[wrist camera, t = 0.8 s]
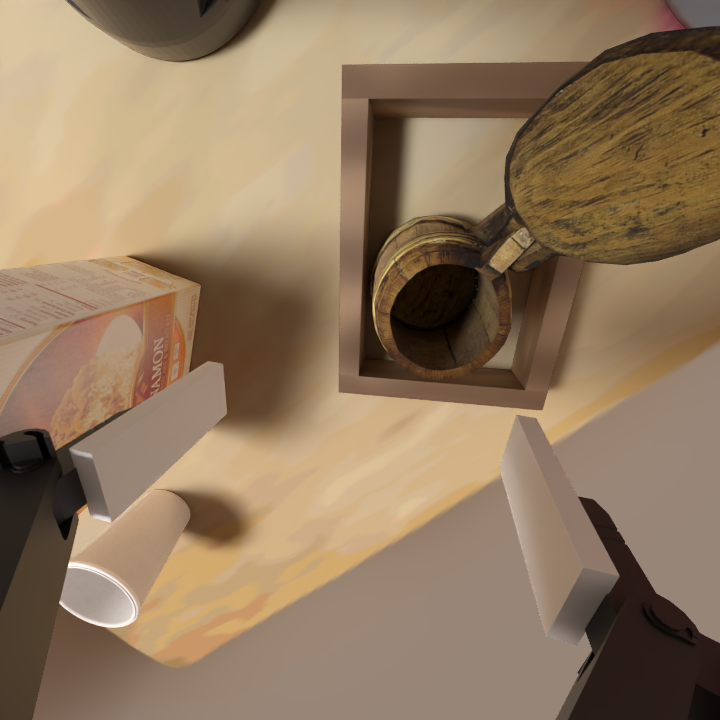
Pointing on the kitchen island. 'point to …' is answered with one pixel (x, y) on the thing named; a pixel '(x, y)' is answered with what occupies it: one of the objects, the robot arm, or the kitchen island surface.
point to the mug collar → (359, 107)
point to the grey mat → (696, 12)
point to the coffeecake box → (89, 342)
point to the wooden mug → (565, 200)
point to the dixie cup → (124, 561)
